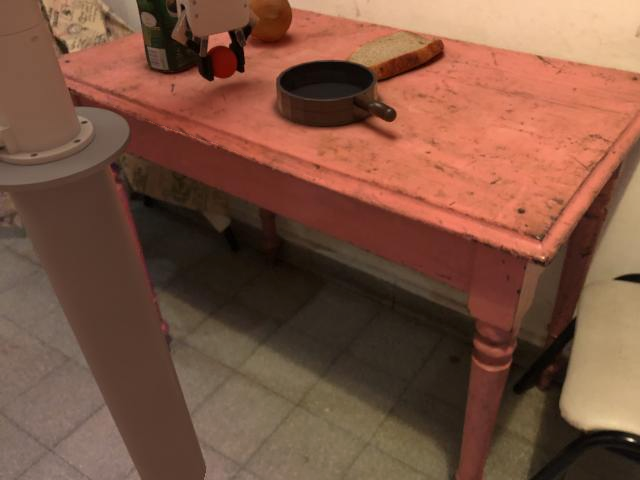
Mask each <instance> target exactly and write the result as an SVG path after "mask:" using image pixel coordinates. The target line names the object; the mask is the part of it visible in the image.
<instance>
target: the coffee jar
mask: <svg viewBox="0 0 640 480" xmlns="http://www.w3.org/2000/svg"><path fill="white" fill-rule="evenodd" d="M135 1H136V5H137V12H138V15H139V22H140V27H141V32H142V41H143V47H144V52H145V57H146V62H147V66H149V68H151V69H153V70H154V71H157V72H160V73H176V72H180V71H183V70H185V69H188V68H190V67H192V66H194V65H196V64H197V59H196V53H194V52H193V51H192V50H190V49H189V48H188V47H186V46H185V45H183V44H182V43H180V42H178V41H176V40H175V39H173V38H172V36H171V35H172V32H173V30H174V28H175V26H176V24H177V21H178V12H177V3H176V0H135ZM185 35H186V37H188V38H190V39H191V40H192V37H193V34H192V31H186V33H185Z"/></svg>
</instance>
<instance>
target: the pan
mask: <svg viewBox="0 0 640 480" xmlns="http://www.w3.org/2000/svg"><path fill="white" fill-rule="evenodd" d="M378 81H379V80H377V76H376V73H375V72H373V71H372V70H371V69H370V68H368V67H366V66H364V65H361V64H359V63H354V62H350V61H347V60H342V59H340V60H339V59H321V60H320V59H319V60H311V61H306V62H301V63H298V64H295V65H292V66H290V67H288V68H286V69H284V70H282V71H281V72H280V73H279V75H278V76H276V78H275V89H276V90H275V91H276V100H277V106H278V110H279V112H280V113H281V115H282V116H283V117H284V118H286V119H288V120H289V121H292V122H293V123H294V122H295V123H297V124H300V125H305V126H313V127H338V126H343V125H344V126H345V125H350V124H353V123H356V122H359V121H361V120H363V119H365V118H367V117H368V116H370V115H371V114H370V113H368V112H366V111H364V110H362V109H360V108H358V107H357V106H356V105H355V102H354V101H355V98H356V96H357V95H358V94H365V95H367V96H369V97H371V98H373V99H375V100H377V101H378V84H379V83H378Z"/></svg>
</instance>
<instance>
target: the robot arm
mask: <svg viewBox="0 0 640 480" xmlns="http://www.w3.org/2000/svg"><path fill="white" fill-rule="evenodd" d="M176 3H177V12H178V21H177V24H176V26H175V28H174V30H173V32H172V35H171V36H172V38H173V39H175V40H176V41H178V42H180V43H182V44H183V45H185V46H186V47H188V48H189V49H190V50H192V51H193V52H194V53H196V59H197V63H196V64H197V71H198V74H199V75H200V76H201V77H202V78H203V79H205V80H206V81H208V82H210V83H211V82H214V81H215V76H214V73H213V66H212V59H211V56H209V55H208V51H209V50H208V49H209V40H210V39H209V38H210V36H214V35H219V34H223V33H228V36H229V38H230V41H231V43H229V44H228V48H230V49H231V50H232V51H233V52H234V53H235V55H236V57H237V62H238V64H237V69H236V71H235V72H238V73H240V74H244V73H245V71H246V70H245V66H246V59H245V57H246V56H245V47H246V46H247V41H248V39H249V37H251V35H250V34H251V32H252V29H254V27H255V26H256V25H257V23H258V22H259V18H258V16H257V15H256V14H255V13H254V12H253V11H252V9H251V8H250V7H249V6H248V0H176ZM186 31H192V34H193V37H192V40H191V39H190V38H188V37H186V35H185V33H186ZM74 107H75V105H74V103H73V99H72V95H71V94H70V91H69V88H68V85H67V82H66V79H65V76H64V73H63V70H62V67H61V64H60V61H59V59H58V55H57V53H56V50H55V47H54V44H53V41H52V38H51V35H50V32H49V29H48V26H47V23H46V20H45V18H44V15H43V13H42V9H41V6H40V3H39V0H0V160H2V161H4V162H7V163H10V164H16V165H37V164H44V163H49V162H53V161H58V160H61V159H64V158H67V157H69V156H71V155H74V154H76V153H77V152H79V151H81V150H83V149H84V148H85V147H87V146H88V145H89V144H90V143H91V142H92V140H93V138H94V137H95V130H94V127H93V125H92V123H91V122H90V121H89V120H88V119H86V118H83V117H81V116H77V114H76V111H75V108H74Z"/></svg>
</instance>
